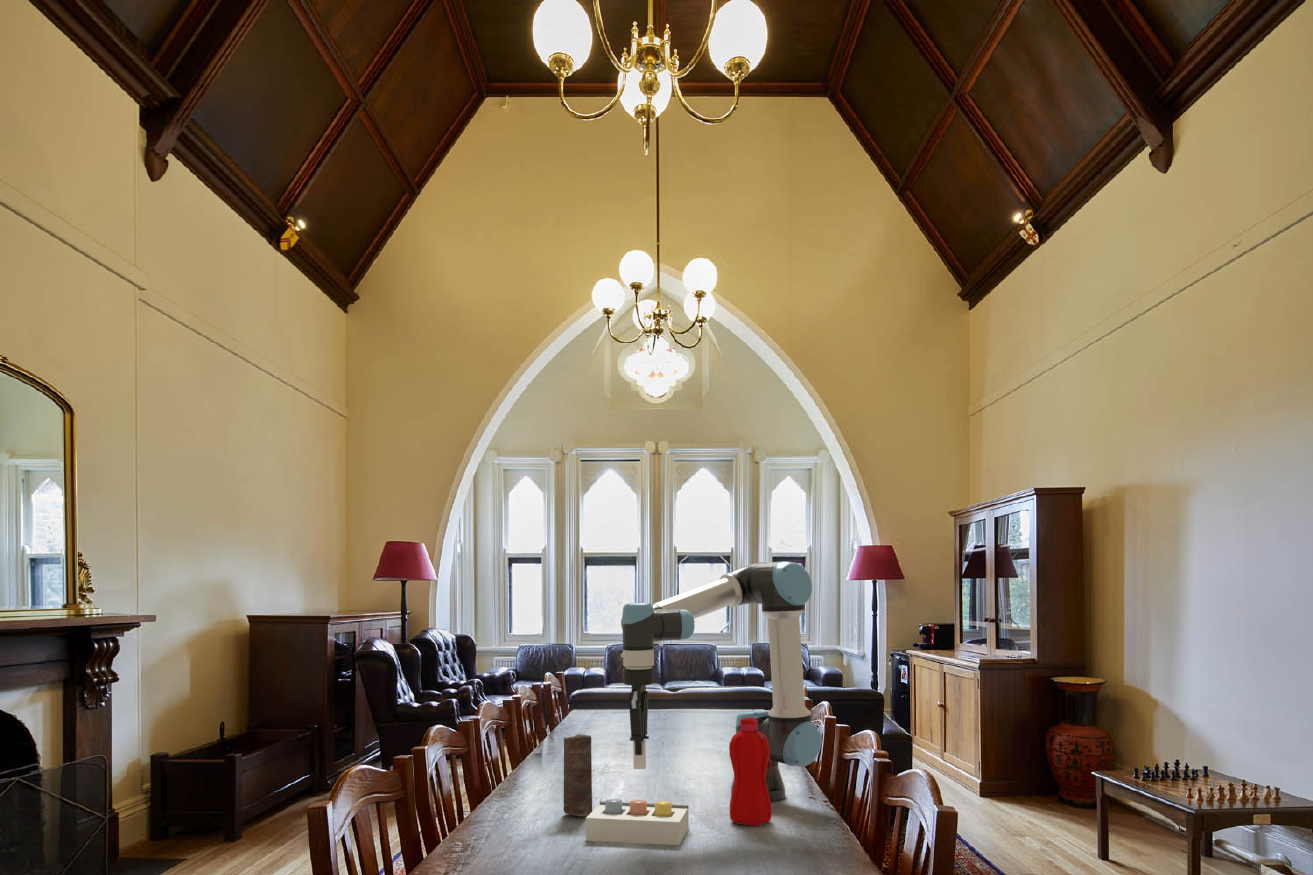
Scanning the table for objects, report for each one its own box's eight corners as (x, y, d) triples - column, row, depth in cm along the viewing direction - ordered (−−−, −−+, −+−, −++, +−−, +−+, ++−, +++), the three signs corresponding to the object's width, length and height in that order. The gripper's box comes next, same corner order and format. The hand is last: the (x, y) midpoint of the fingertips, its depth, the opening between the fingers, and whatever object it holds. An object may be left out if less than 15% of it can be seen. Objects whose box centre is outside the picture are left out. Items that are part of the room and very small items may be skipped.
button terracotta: (648, 817, 219) (648, 800, 219) (644, 821, 215) (644, 804, 216) (631, 816, 220) (631, 799, 220) (628, 821, 216) (628, 803, 216)
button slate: (623, 816, 220) (623, 799, 221) (620, 820, 216) (620, 802, 217) (607, 815, 221) (607, 798, 221) (603, 819, 217) (603, 802, 217)
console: (688, 829, 222) (688, 804, 222) (679, 845, 208) (679, 819, 209) (600, 824, 225) (600, 801, 226) (585, 840, 212) (585, 814, 213)
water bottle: (761, 830, 221) (759, 722, 225) (724, 822, 228) (723, 718, 232) (782, 822, 228) (780, 718, 232) (746, 815, 235) (744, 714, 239)
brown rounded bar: (567, 820, 230) (568, 737, 233) (558, 813, 236) (560, 733, 240) (596, 817, 233) (597, 735, 236) (586, 810, 240) (587, 731, 243)
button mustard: (672, 818, 218) (672, 801, 218) (670, 823, 214) (670, 805, 215) (656, 818, 218) (656, 800, 219) (653, 822, 215) (653, 804, 215)
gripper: (629, 664, 230) (630, 762, 226) (617, 670, 217) (618, 773, 214) (658, 664, 228) (660, 763, 225) (648, 670, 216) (650, 774, 212)
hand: (639, 768), depth 219 cm, fingers closed
